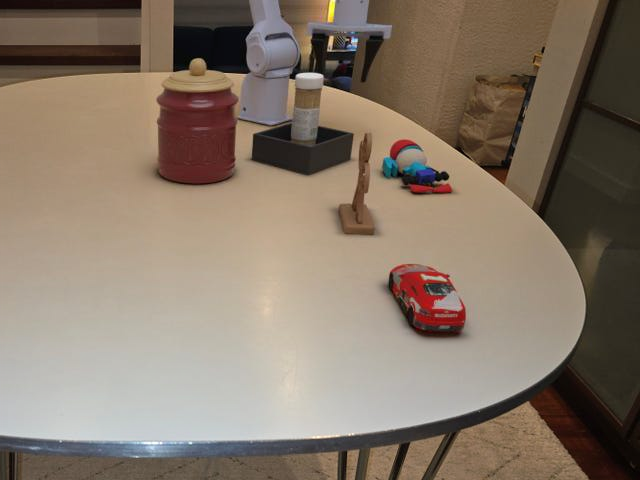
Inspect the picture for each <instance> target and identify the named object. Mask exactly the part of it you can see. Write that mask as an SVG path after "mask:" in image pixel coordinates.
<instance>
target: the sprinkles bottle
mask: <svg viewBox="0 0 640 480" xmlns="http://www.w3.org/2000/svg"><path fill="white" fill-rule="evenodd" d="M324 79H325V77H324V76H323V75H322V74H318V72H301V73H297V74H296V75H295V78H294V87H295V91H294V101H293V109H292V110H293V111H292V116H293V118H292V120H291V123H292V128H291V142H294V143H298V144H303V145H307V146H313V145H315V143H316V138H317V130H318V126H319V121H320V111H321V98H322V97H321V95H322V90H323V87H324Z"/></svg>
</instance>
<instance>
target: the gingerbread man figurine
mask: <svg viewBox="0 0 640 480" xmlns="http://www.w3.org/2000/svg"><path fill="white" fill-rule="evenodd" d="M372 149H373V134H372V132H365V133H364V135H363V140H361V141H360V143H359V148H358V160H357V161H358V163H357V164H358V176H357V184H356V187H355V190H354V195H353V198H352V203H339V205H338V213H339V214H338V215H339V217H340V220H341V225H342V229H343V232H344V234H347V235H348V234H349V235H350V234H351V235H375V231H376V227H375V224H374V222H373V219H372V216H371V214H370V210H369V208H368V206H367V204H366V203H365V194H368V193H369V188H370V181H371V180H370V179H371V166H370V162H369V161H370V159H371V156H372V155H371V154H372Z"/></svg>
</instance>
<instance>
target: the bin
mask: <svg viewBox="0 0 640 480" xmlns="http://www.w3.org/2000/svg"><path fill="white" fill-rule="evenodd" d="M291 128H292V122H289V123H286V124H281V125H279V126H275V127H272V128H269V129H265V130H262V131H258V132H254V133H253V134H252V147H251V161H254V162H258V163H261V164H265V165H268V166H269V165H270V166H273V167H277V168H279V169H284V170H288V171H292V172H295V173H299V174H303V175H307V176H310V175H312V174H315V173H317V172H321V171H323V170H326V169H328V168H332V167H334V166H336V165H339V164H342V163H344V162H347V161H350V160H351V159H352V152H353V151H352V150H353V143H354V136H355V133H354V132H350V131H346V130H341V129H336V128H332V127H327V126H321V125H318V130H317V138H316V143H315V145H313V146H307V145H303V144H298V143H294V142H291Z"/></svg>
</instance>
